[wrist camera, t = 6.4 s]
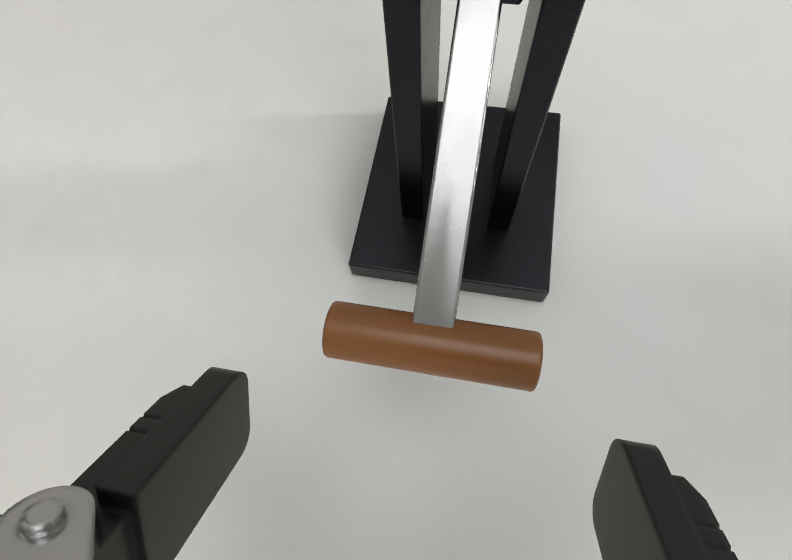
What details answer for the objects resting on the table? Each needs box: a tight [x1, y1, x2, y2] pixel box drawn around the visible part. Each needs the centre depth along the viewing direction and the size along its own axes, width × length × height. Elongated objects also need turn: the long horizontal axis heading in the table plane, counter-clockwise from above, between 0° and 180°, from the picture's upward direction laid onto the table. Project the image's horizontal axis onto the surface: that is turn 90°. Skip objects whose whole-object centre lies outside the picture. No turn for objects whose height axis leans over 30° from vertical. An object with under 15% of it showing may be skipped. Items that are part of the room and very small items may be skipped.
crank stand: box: [349, 0, 585, 302], centre depth 17 cm, size 10×9×15 cm
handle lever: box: [322, 0, 543, 391], centre depth 12 cm, size 13×6×2 cm, turn 170°
